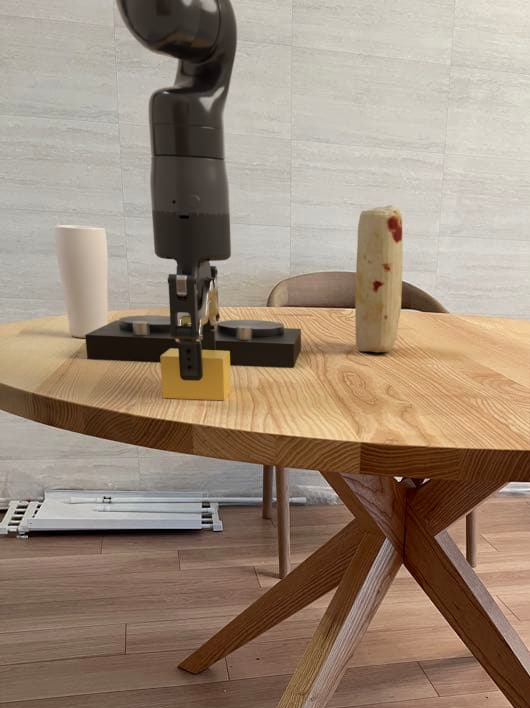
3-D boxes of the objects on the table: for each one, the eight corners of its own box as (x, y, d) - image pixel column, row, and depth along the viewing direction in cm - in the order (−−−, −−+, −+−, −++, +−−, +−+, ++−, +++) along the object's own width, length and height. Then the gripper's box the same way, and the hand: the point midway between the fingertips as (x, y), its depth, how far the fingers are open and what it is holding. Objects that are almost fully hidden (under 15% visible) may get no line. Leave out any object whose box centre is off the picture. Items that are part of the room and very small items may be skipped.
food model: (402, 357, 117) (410, 206, 110) (356, 355, 117) (360, 203, 109) (395, 346, 126) (402, 206, 119) (352, 345, 126) (356, 203, 118)
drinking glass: (61, 339, 117) (50, 226, 111) (68, 332, 123) (57, 224, 117) (112, 340, 118) (103, 228, 113) (116, 333, 124) (107, 227, 119)
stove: (87, 358, 104) (83, 321, 103) (117, 341, 117) (114, 308, 115) (293, 367, 106) (293, 331, 104) (300, 350, 119) (301, 317, 117)
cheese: (162, 398, 86) (160, 355, 85) (172, 388, 91) (170, 348, 89) (224, 400, 87) (223, 358, 85) (230, 391, 91) (229, 350, 90)
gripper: (167, 206, 88) (176, 359, 94) (134, 206, 75) (147, 384, 81) (238, 210, 89) (243, 361, 95) (218, 210, 76) (224, 386, 82)
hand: (199, 371), depth 88 cm, fingers open, 8 cm apart
